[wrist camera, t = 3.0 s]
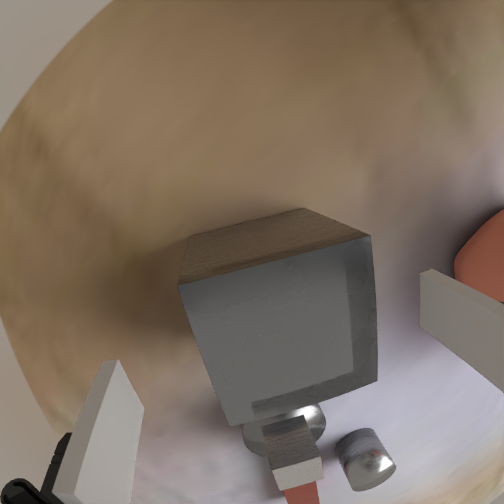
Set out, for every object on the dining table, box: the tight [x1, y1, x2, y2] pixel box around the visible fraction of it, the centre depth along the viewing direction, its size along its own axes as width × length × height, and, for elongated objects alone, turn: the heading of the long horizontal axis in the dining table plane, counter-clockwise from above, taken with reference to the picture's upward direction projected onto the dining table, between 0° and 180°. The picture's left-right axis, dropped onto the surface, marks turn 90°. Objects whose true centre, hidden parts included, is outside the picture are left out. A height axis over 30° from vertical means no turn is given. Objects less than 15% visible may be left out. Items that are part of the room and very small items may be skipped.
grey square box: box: [177, 208, 378, 426], centre depth 15 cm, size 7×7×8 cm
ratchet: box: [241, 403, 326, 504], centre depth 21 cm, size 19×6×7 cm, turn 13°
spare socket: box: [335, 428, 396, 491], centre depth 23 cm, size 4×4×5 cm
